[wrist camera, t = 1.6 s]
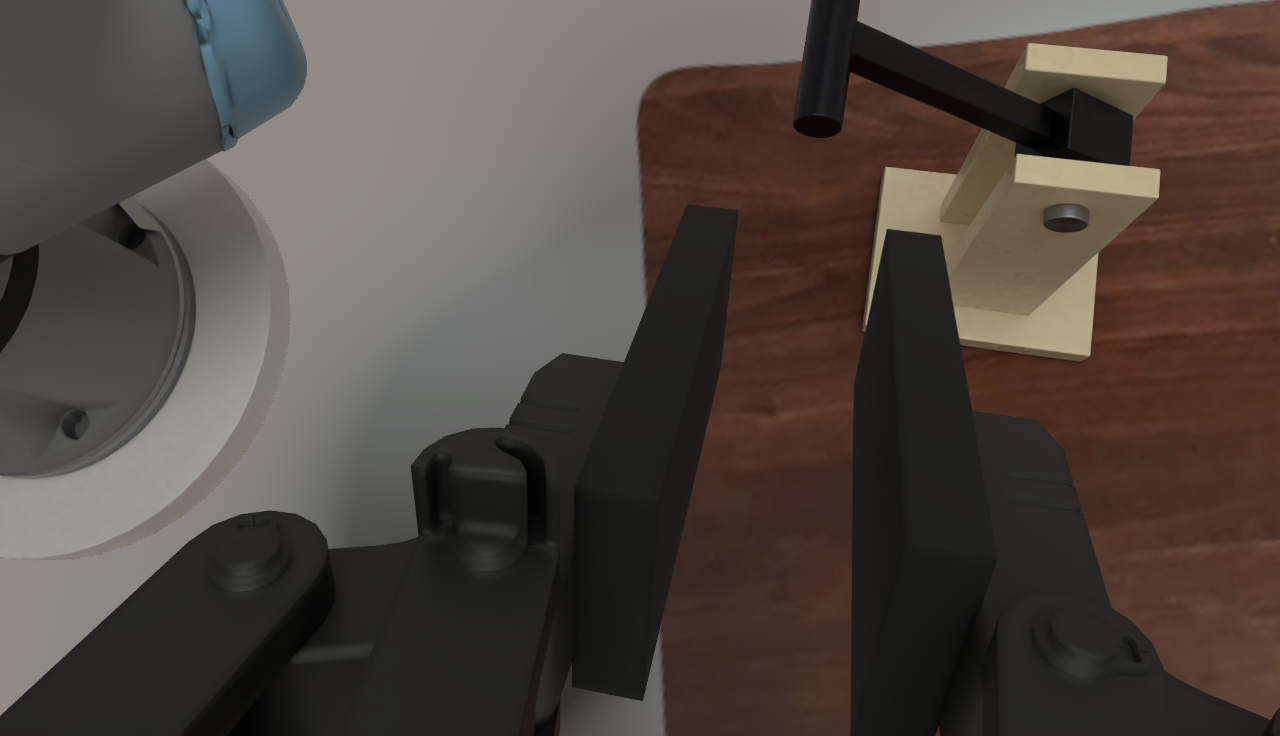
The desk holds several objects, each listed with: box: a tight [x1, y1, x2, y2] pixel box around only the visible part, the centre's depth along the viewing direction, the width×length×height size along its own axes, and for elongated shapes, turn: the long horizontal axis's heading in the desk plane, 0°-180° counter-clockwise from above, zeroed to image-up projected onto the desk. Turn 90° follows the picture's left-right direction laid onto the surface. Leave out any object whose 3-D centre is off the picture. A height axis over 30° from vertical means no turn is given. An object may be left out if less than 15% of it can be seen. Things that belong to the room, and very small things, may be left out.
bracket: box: [862, 43, 1167, 362], centre depth 37 cm, size 10×8×15 cm
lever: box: [793, 0, 1133, 166], centre depth 30 cm, size 12×6×2 cm, turn 80°
